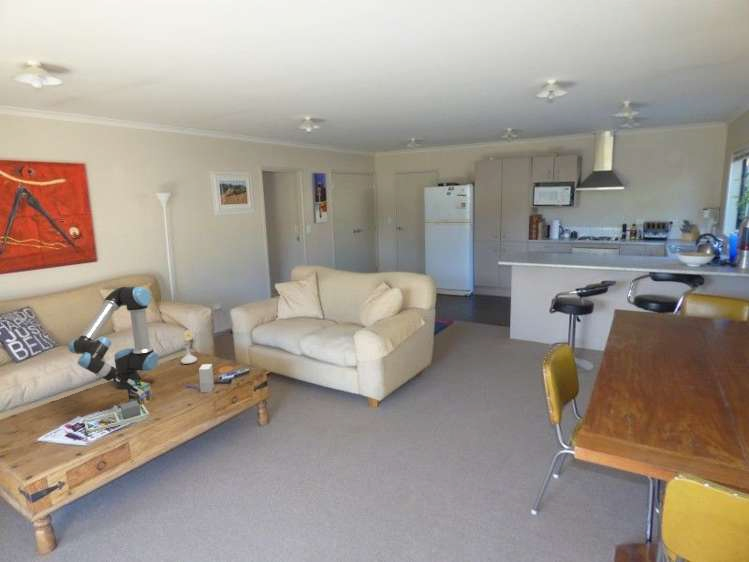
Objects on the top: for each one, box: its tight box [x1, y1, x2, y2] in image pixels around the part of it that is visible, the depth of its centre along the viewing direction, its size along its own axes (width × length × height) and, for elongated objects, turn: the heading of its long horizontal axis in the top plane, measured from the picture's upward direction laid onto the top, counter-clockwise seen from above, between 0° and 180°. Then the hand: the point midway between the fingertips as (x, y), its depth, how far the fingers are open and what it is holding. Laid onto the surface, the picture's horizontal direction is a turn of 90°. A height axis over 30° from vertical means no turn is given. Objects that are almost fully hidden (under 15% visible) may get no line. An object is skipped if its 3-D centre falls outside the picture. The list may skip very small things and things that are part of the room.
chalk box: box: [127, 380, 154, 406], centre depth 269 cm, size 9×9×15 cm
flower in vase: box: [180, 329, 198, 365], centre depth 333 cm, size 13×11×25 cm
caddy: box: [83, 404, 150, 435], centre depth 248 cm, size 29×15×3 cm, turn 128°
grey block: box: [120, 400, 141, 420], centre depth 251 cm, size 8×8×7 cm
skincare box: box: [198, 363, 215, 394], centre depth 285 cm, size 8×7×16 cm
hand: (139, 389), depth 268 cm, fingers open, 13 cm apart
